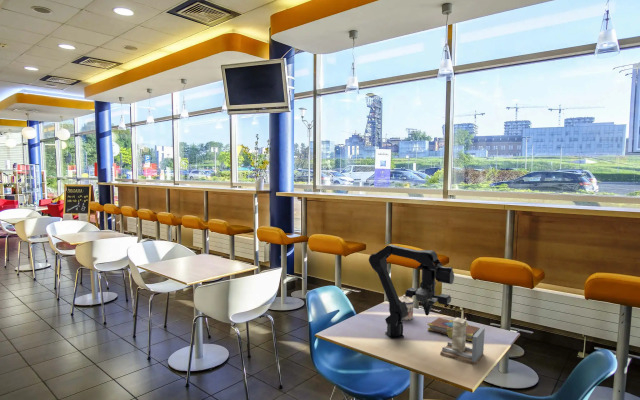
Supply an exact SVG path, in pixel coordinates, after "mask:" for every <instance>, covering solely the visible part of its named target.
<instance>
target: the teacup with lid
mask: <svg viewBox="0 0 640 400" xmlns="http://www.w3.org/2000/svg"><path fill="white" fill-rule="evenodd" d="M398 298H399V300H400V301H401V302H404V301H405V303H406V306H407V308H408V315H407V317H406V318H404V320H403V321H408V319H409V320H413V318H414V299H413V298H412V297H407V296H405V294H403V295H401V296H398Z"/></svg>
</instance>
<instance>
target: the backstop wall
mask: <svg viewBox="0 0 640 400" xmlns="http://www.w3.org/2000/svg"><path fill="white" fill-rule="evenodd" d="M479 328H480V329H479V330H478V331H477V332H476V333H475V335H474V336H473V340H472V345H471V348H472V361H473V362H476V361H477V360H478V358H479V357H480V356H481V354H482V353H483V354H484V352H485V351H484V348H485V347H484V345H485V328H484V327H479ZM481 357H482V356H481Z"/></svg>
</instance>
